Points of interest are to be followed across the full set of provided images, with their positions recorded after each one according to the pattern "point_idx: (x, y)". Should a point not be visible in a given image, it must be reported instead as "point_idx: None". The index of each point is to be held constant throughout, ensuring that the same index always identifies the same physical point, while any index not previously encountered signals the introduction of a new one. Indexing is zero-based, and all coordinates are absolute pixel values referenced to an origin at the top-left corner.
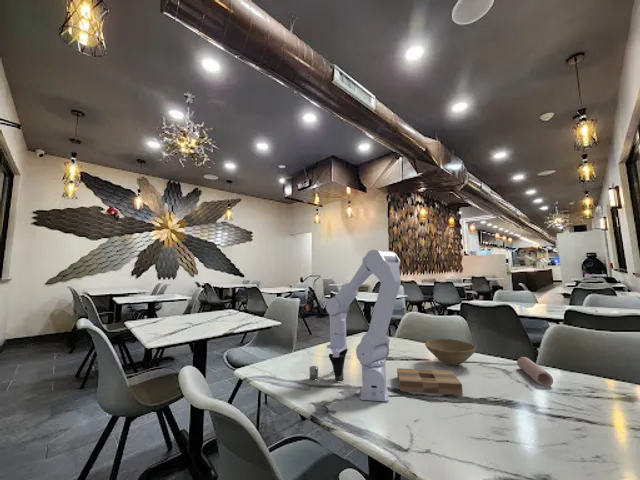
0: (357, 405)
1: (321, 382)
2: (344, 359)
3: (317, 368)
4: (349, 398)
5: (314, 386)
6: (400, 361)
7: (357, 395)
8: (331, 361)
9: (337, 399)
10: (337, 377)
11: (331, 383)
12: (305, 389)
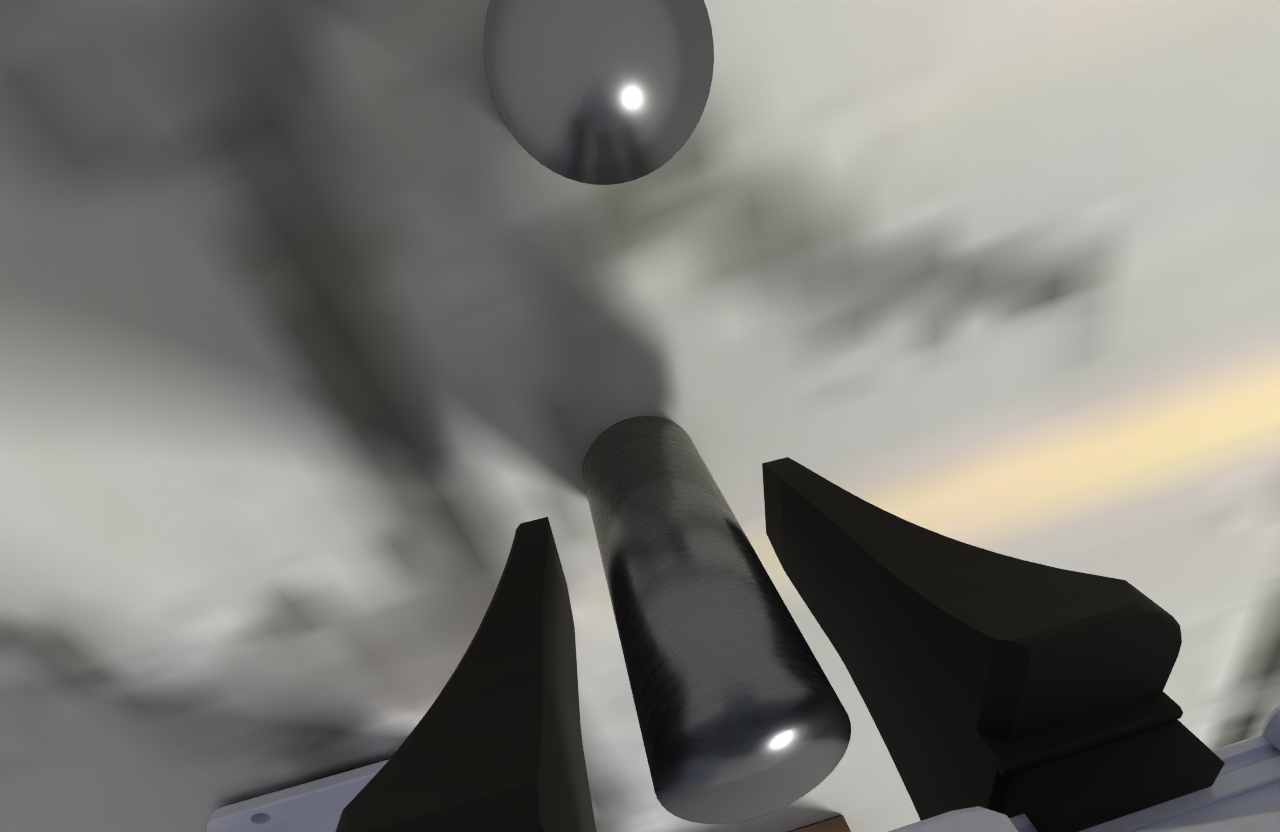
0: (81, 821)
1: (481, 268)
2: (858, 686)
3: (592, 181)
4: (186, 725)
5: (260, 221)
6: (1198, 728)
7: (310, 747)
8: (409, 737)
9: (62, 653)
10: (589, 502)
11: (505, 417)
12: (19, 108)
